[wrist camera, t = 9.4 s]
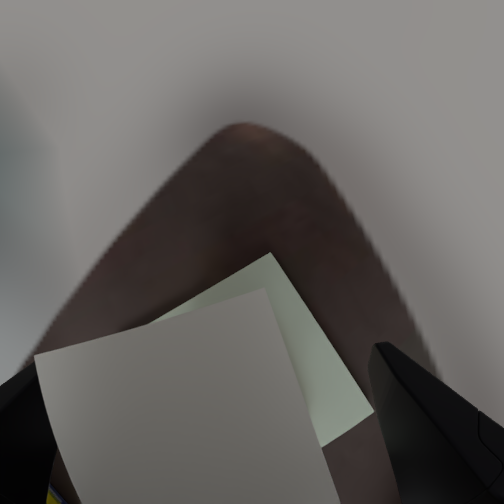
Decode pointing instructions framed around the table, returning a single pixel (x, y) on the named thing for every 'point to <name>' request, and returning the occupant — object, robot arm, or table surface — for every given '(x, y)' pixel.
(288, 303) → the sage pad
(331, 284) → the table surface
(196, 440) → the plug
